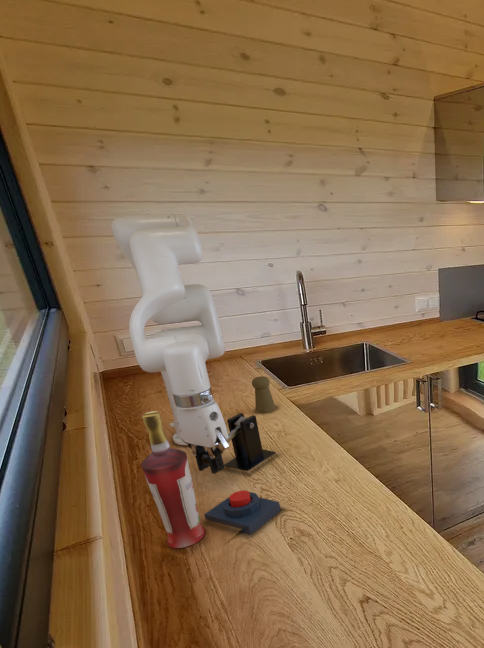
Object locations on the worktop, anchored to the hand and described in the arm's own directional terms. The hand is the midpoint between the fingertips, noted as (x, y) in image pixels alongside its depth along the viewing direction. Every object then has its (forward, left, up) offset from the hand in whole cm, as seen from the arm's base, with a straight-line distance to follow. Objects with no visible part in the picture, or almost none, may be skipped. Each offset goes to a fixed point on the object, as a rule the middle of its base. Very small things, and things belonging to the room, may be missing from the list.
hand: (211, 468), depth 115 cm
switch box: (+16, -7, -5) cm, 18 cm away
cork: (-21, +41, -5) cm, 46 cm away
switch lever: (0, +6, +3) cm, 7 cm away
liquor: (+12, -18, -5) cm, 22 cm away
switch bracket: (0, +11, -5) cm, 12 cm away
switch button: (+16, -7, -1) cm, 18 cm away
